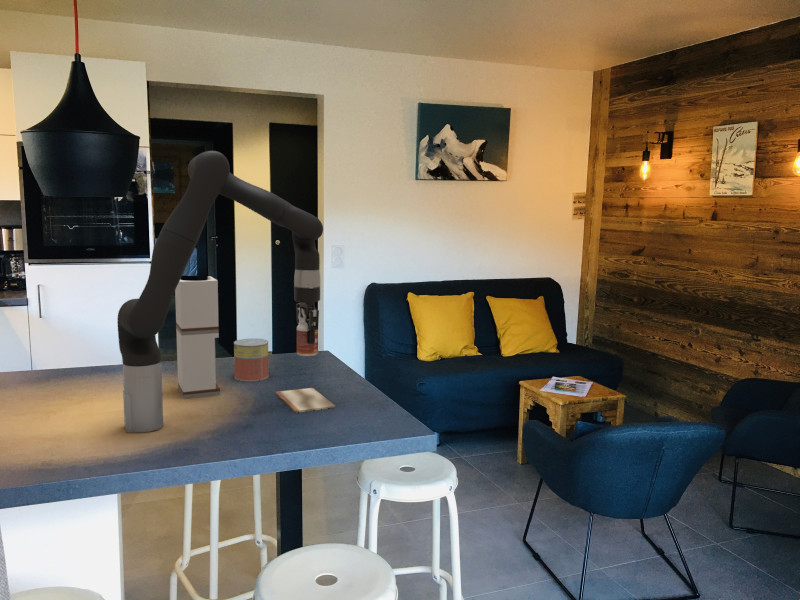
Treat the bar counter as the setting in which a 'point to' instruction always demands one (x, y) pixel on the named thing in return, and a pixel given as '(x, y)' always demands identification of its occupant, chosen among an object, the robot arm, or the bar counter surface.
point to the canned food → (251, 359)
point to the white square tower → (197, 337)
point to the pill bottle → (305, 340)
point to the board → (304, 400)
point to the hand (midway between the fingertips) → (307, 341)
